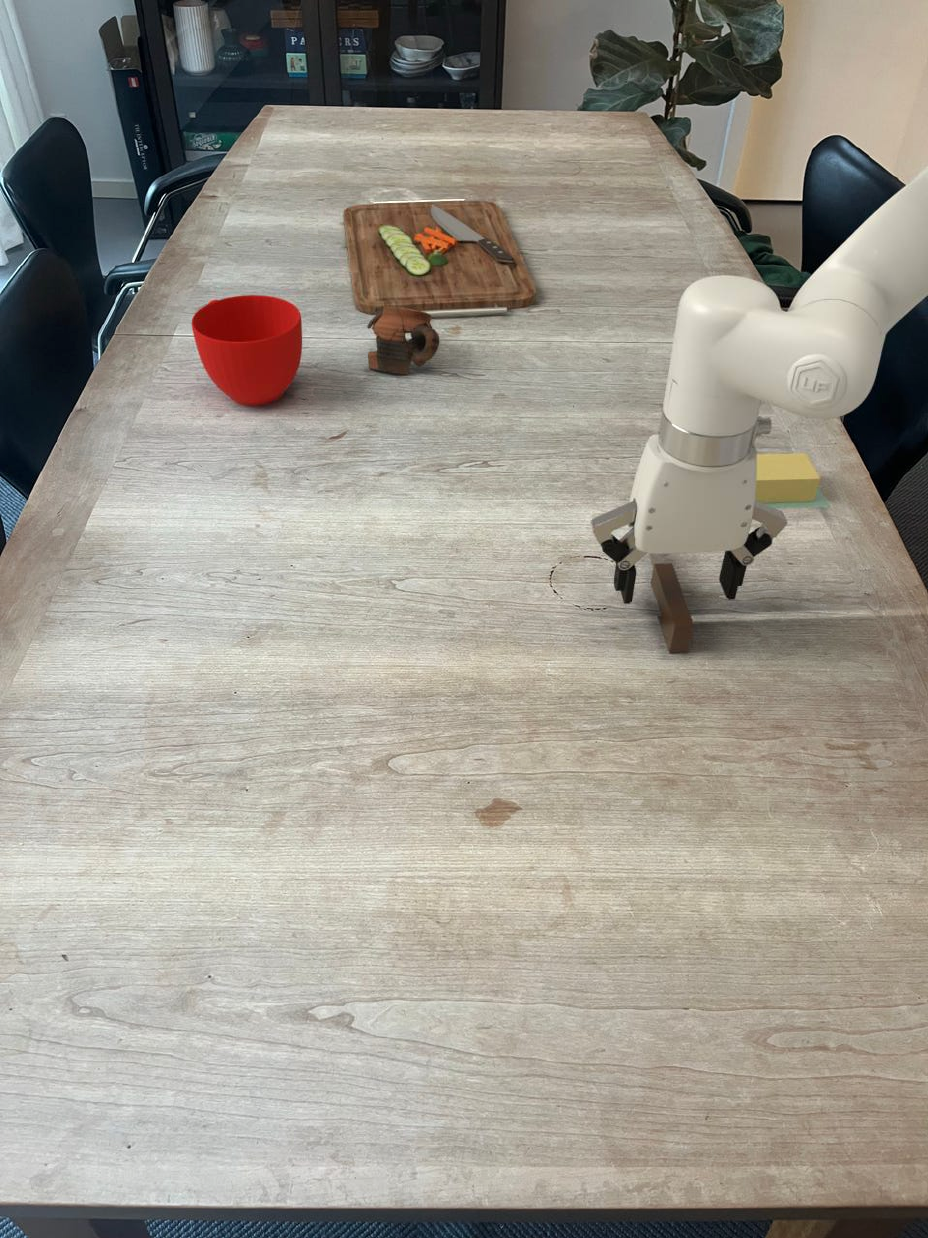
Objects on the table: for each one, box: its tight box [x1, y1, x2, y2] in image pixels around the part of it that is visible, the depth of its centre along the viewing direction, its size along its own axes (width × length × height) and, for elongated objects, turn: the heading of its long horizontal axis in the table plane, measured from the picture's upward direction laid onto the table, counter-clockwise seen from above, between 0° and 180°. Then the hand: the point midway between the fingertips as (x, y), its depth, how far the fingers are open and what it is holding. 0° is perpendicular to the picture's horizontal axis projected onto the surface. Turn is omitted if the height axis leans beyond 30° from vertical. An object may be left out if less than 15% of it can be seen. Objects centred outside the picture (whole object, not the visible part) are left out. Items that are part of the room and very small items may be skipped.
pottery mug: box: [366, 306, 440, 375], centre depth 131 cm, size 12×10×8 cm
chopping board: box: [342, 197, 537, 317], centre depth 158 cm, size 45×27×3 cm, turn 8°
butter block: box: [755, 452, 821, 503], centre depth 109 cm, size 8×5×3 cm, turn 94°
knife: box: [648, 553, 695, 654], centre depth 98 cm, size 2×19×3 cm, turn 4°
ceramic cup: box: [191, 294, 303, 407], centre depth 124 cm, size 13×17×10 cm
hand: (675, 592), depth 93 cm, fingers open, 9 cm apart
